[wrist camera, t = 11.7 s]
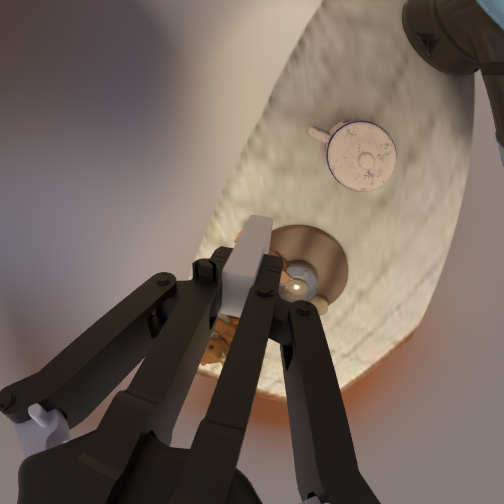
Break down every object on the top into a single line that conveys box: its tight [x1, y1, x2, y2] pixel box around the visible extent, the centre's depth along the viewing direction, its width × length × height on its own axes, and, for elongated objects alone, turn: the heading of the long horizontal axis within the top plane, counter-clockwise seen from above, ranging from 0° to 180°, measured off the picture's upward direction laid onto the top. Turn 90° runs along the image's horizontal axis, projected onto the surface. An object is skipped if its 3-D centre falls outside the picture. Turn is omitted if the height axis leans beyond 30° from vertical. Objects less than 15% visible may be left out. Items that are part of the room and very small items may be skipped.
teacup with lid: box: [307, 119, 397, 191], centre depth 33 cm, size 12×9×12 cm
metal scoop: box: [234, 228, 317, 302], centre depth 46 cm, size 16×7×4 cm, turn 49°
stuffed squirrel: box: [201, 310, 240, 366], centre depth 56 cm, size 10×14×13 cm
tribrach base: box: [269, 225, 348, 316], centre depth 49 cm, size 18×18×4 cm
